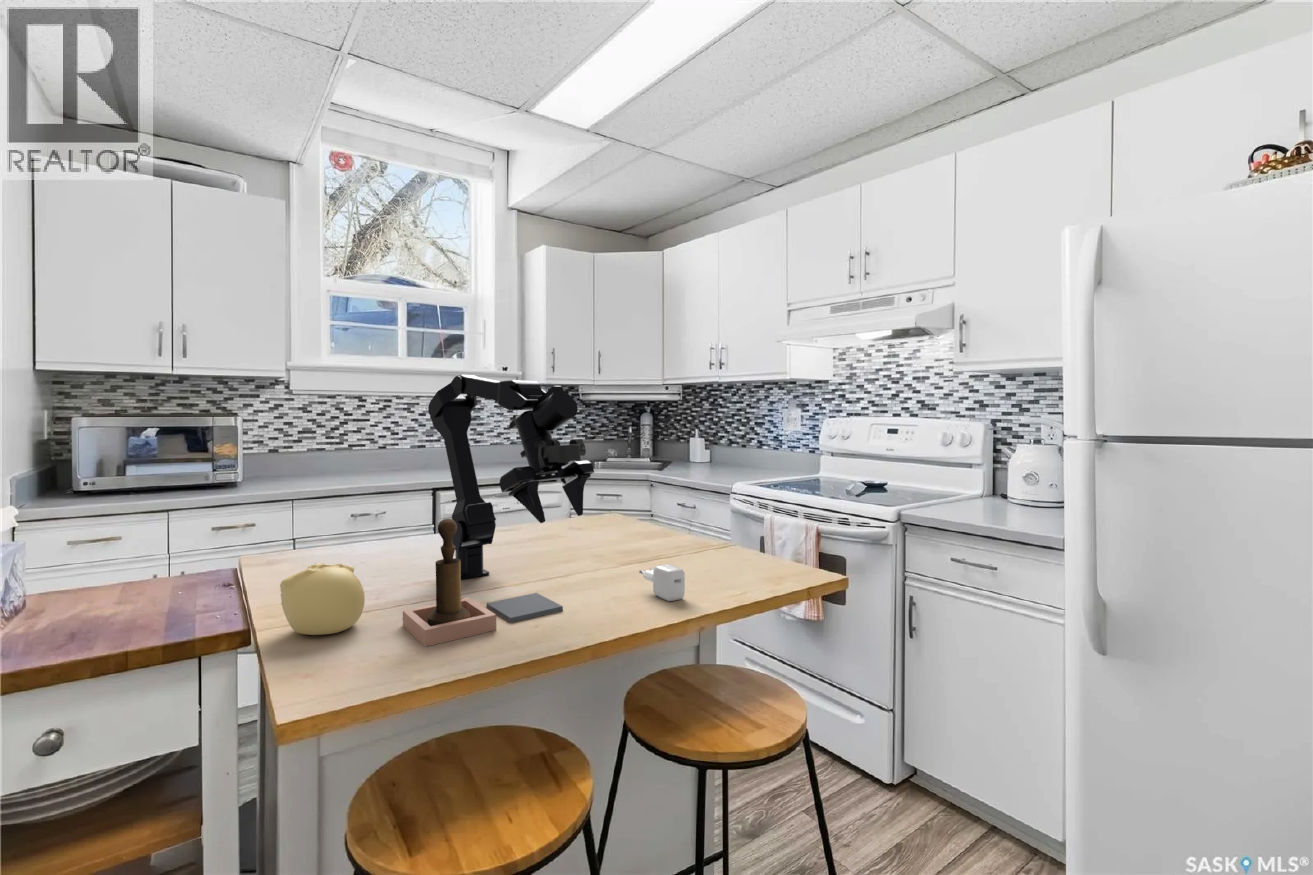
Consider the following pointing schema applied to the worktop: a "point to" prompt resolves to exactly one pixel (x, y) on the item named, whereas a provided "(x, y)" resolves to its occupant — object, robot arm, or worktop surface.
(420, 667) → the worktop surface
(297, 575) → the pale yellow round lump
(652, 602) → the worktop surface
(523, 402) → the robot arm
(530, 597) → the mat
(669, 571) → the power adapter
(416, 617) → the tray
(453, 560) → the mortar and pestle
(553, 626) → the worktop surface
